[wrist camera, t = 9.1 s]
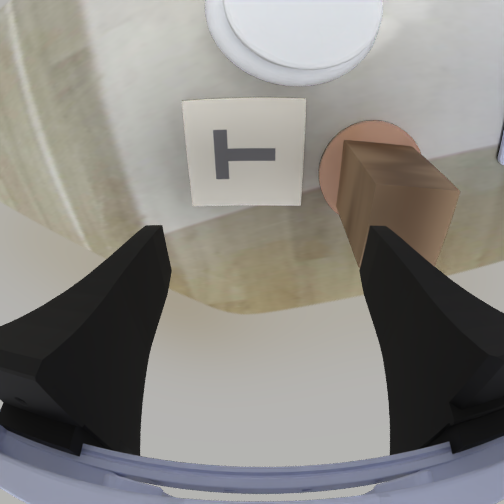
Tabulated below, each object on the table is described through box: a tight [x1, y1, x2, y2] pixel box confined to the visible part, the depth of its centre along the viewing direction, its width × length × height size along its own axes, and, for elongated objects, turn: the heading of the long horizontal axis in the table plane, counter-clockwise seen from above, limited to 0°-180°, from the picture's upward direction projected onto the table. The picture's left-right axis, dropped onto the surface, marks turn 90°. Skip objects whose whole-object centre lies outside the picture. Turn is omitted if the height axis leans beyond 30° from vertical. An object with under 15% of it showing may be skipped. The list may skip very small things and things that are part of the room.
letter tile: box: [182, 97, 306, 206], centre depth 19 cm, size 7×7×1 cm
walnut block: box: [336, 140, 460, 267], centre depth 16 cm, size 4×4×6 cm
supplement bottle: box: [205, 0, 383, 86], centre depth 10 cm, size 6×6×10 cm
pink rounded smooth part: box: [319, 120, 421, 214], centre depth 19 cm, size 7×7×1 cm
